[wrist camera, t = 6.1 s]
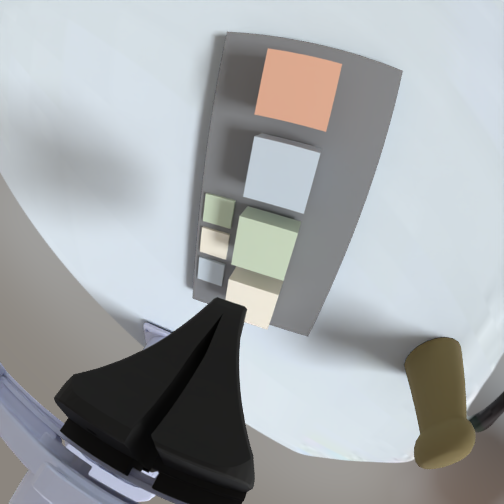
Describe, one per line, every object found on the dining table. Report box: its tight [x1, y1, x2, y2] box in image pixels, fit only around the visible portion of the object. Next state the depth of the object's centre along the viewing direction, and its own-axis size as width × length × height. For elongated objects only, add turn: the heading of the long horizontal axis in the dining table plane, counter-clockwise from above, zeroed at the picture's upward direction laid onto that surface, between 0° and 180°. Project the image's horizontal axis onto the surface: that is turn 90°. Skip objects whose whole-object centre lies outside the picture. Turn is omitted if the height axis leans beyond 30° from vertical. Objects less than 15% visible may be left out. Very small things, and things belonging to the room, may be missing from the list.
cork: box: [404, 337, 475, 469], centre depth 16 cm, size 6×6×11 cm
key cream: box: [225, 266, 283, 329], centre depth 20 cm, size 3×3×2 cm
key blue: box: [243, 133, 321, 214], centre depth 15 cm, size 3×3×2 cm
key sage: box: [231, 206, 301, 281], centre depth 17 cm, size 3×3×2 cm
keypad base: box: [193, 32, 403, 336], centre depth 17 cm, size 20×10×1 cm, turn 169°
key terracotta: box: [254, 48, 342, 132], centre depth 11 cm, size 3×3×2 cm
